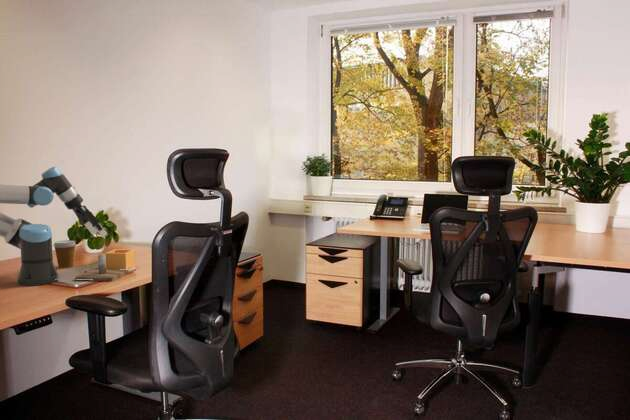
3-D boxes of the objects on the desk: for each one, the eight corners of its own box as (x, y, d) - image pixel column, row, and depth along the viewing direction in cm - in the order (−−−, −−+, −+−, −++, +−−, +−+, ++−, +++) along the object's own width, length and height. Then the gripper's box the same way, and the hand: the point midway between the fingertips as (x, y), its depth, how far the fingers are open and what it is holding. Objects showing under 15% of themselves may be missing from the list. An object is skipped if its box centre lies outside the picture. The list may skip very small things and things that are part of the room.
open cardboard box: (126, 270, 245) (125, 253, 245) (105, 270, 246) (104, 253, 246) (135, 266, 255) (134, 249, 254) (115, 266, 256) (114, 249, 255)
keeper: (111, 281, 225) (111, 258, 224) (75, 280, 227) (74, 258, 226) (128, 272, 241) (127, 251, 240) (94, 272, 243) (93, 251, 242)
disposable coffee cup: (68, 269, 249) (67, 243, 248) (50, 268, 251) (48, 243, 250) (81, 265, 258) (80, 240, 257) (63, 264, 260) (62, 239, 259)
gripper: (86, 193, 235) (116, 231, 244) (69, 192, 254) (97, 227, 263) (71, 203, 231) (102, 241, 240) (56, 202, 250) (85, 237, 259)
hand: (100, 234), depth 251 cm, fingers open, 13 cm apart
